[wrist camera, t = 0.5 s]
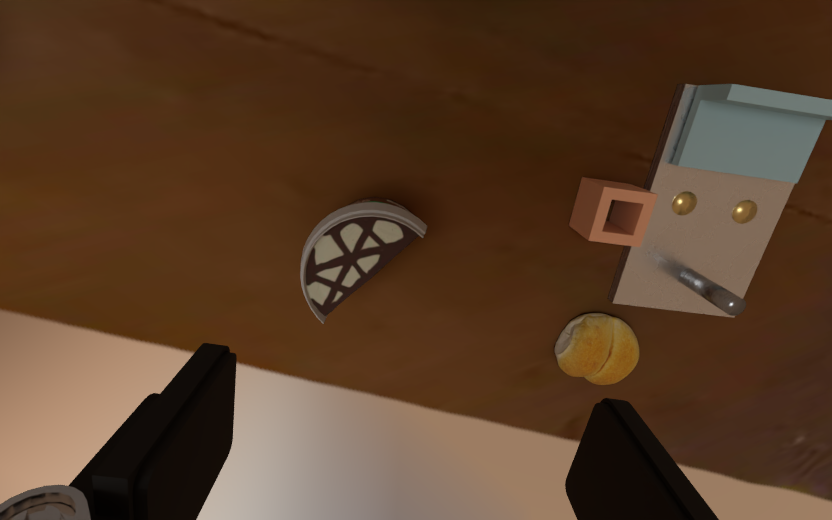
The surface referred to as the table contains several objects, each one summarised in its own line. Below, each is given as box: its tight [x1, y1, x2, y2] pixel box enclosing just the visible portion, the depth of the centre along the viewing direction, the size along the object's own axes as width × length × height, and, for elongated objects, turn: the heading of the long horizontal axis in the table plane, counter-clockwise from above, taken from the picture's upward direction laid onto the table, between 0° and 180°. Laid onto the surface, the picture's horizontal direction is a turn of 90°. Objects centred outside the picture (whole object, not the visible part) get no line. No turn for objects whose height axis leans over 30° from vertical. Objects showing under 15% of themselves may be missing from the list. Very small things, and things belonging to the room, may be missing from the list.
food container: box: [300, 197, 427, 323], centre depth 39 cm, size 12×6×10 cm, turn 132°
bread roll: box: [555, 313, 639, 385], centre depth 48 cm, size 8×9×4 cm
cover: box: [672, 84, 832, 183], centre depth 38 cm, size 7×12×4 cm, turn 82°
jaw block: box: [569, 177, 658, 247], centre depth 41 cm, size 5×5×5 cm
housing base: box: [608, 84, 795, 317], centre depth 40 cm, size 22×14×8 cm, turn 172°
